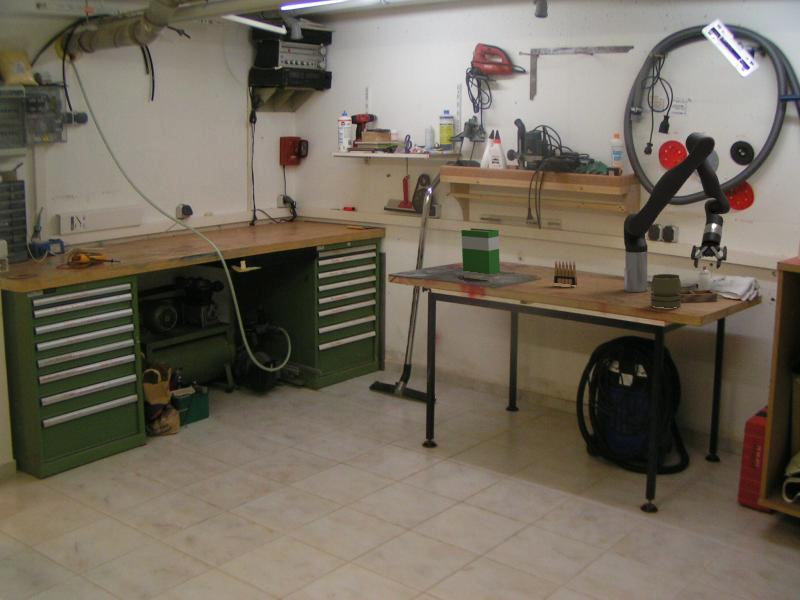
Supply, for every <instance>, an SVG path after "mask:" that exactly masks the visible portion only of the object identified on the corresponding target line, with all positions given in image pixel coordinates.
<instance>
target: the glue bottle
mask: <svg viewBox="0 0 800 600" xmlns="http://www.w3.org/2000/svg"><path fill="white" fill-rule="evenodd" d="M697 286H698V287H697V288H698V289H697V290H711V273H710V271H709V270H708V269H707V266H706V265H704V266H702V269H701V270H700V271H699V273H698V285H697Z"/></svg>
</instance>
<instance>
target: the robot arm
mask: <svg viewBox="0 0 800 600" xmlns="http://www.w3.org/2000/svg"><path fill="white" fill-rule="evenodd" d="M684 143H685V144H684V145H685V149H686V152H688V154H687V156H686V157H685V158H684V159H683V160H682V161H680V162H679V163H677V164H676V165H674V166H673V167H671V168H669V169H668V170H666V171H665V173H663V174H662V176H661V177H660V178H659V179H658V181H657V182H656V183H655V185H654V187H653V189H652V191H651V193H650V195H649V198H648V200H647V201H646V202H645V204H644V206H642V208H641V209H640V210H639V211H638V213H630V214H629V215H627V216H626V218H625V219H624V222H623V240H624V241H623V244H624V247H625V249H624V250H625V252H624V253H625V267H624V271H623V273H624V281H623V282H624V290H625V292H626V293H627V292H628V293H642V292H647V291H648V286H649V285H648V250H649V249H648V248H649V247H648V243H647V241H646V234H647V233H648V232H649V231H650V229H651V227H652V226H653V224H654V223H655V221H656V219H657V218H658V216H659V215H660V214H661V213H662V212H663V210H664V209H665V208H666V207H667V206H668V205H669V203H671V200H672V199H673V198H674V197H675V196H676V195H677V194H678V193H679V191H680V189H681V188H682V187H683V186H684V184H685V183H686V182H687V181H688V180H689V178H690V177H692V175H693V174H694V172H695V171H697V174H698V177H699V180H700V183H701V186H702V189H703V193H704V196H705V197H706V198H709V199H708V200H707V201H705V203H704V213H705V225H704V229H703V233H702V238H701V244H700V246H696V245H693V246H692V249H691V253H690V259H691V260H692V261H693V266H694V267H695V269H698V268H699V267H698V266H699V261H700V260H701V259H703V258H704V257H705V258H713V257H714V258H715V259H716V265H715V267H716V269H717V270H719V269H720V268H721V265H722V262H723V261H724V262H725V261H727V256H728V255H727V254H728V248H727V246H726V245H724V246H723V247H721V242H722V235H723V226H724V218H723V216H722V215H727V214H728V213H729V212H730V210H731V203H730V200H729V199H728V197H727V196H726V195H725V193H724V191H723V190H722V187H721V184H720V180H719V178H718V177H719V176H718V175H717V173H716V171H715V170H714V168H713V166H712V164H711V163H710V161H709V159H708V157H709V156H710V155H711V154H712V153H713V151H714V150H715V146H716V142H715V139H714V137H712V136H710V135H708V134H704V133H702V132H698V131H697V132H696V131H694V132H691V133H690V134H689V135H688V136H687V138H686V139H685V142H684ZM720 251H721V253H722V256H721V254H719V253H720Z"/></svg>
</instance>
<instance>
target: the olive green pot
mask: <svg viewBox="0 0 800 600" xmlns="http://www.w3.org/2000/svg"><path fill="white" fill-rule="evenodd" d="M650 291H651V292H652V293H650V306H651V305H652V306H655V307H664V308H674V307H680V306H681V305H682V302H681V299H680V298H681V294H680V293H678V292H680V291H682V282H681V280H680V275H679V274H671V273H670V274H669V273H659V274H653V276H652V280H651V282H650ZM681 307H682V306H681ZM681 307H680V308H681Z"/></svg>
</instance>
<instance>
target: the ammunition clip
mask: <svg viewBox="0 0 800 600" xmlns="http://www.w3.org/2000/svg"><path fill="white" fill-rule="evenodd" d="M554 283H562V284H570V285H577V286H578V279H577V269H576V262H575V261H573V262H572V261H571V260H570V261H569V263H568V261H567V260H566V262H565V261H564V260H562V263H561V260H559V261H557V260H555V261H554V275H553V284H554Z"/></svg>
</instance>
